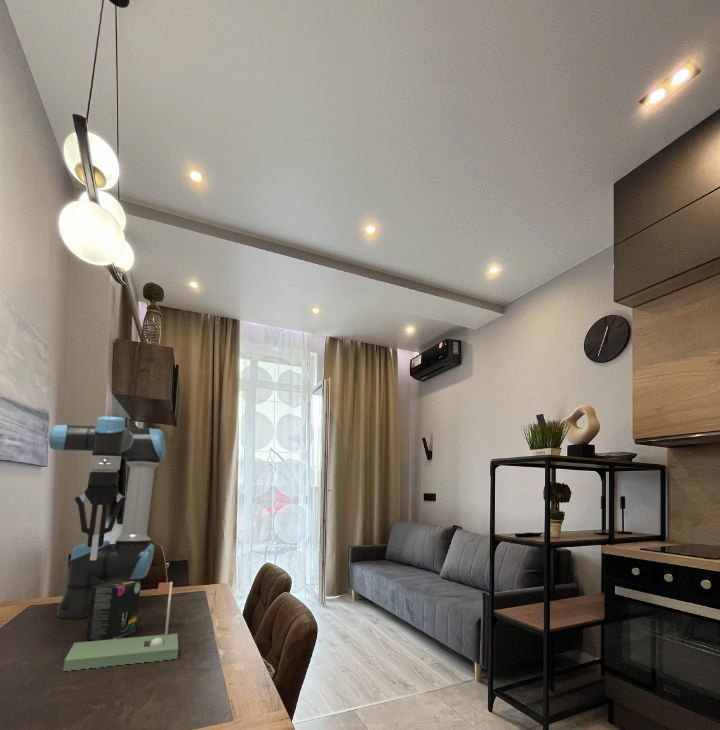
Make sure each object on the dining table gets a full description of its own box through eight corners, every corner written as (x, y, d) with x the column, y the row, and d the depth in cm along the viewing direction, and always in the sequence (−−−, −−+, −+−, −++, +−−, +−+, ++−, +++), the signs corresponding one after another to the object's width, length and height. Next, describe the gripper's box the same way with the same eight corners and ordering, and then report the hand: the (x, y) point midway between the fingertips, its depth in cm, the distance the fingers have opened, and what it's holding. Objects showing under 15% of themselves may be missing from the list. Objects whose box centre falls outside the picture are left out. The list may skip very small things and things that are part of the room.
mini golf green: (72, 653, 129) (82, 586, 133) (176, 643, 139) (182, 581, 142) (62, 672, 117) (73, 597, 121) (177, 659, 126) (183, 591, 130)
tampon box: (112, 643, 138) (118, 587, 141) (84, 640, 140) (91, 585, 143) (136, 631, 148) (142, 580, 152) (110, 629, 150) (116, 578, 154)
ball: (159, 633, 133) (166, 643, 133) (147, 642, 131) (154, 653, 132) (158, 636, 130) (166, 647, 130) (146, 646, 128) (154, 657, 128)
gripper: (76, 471, 132) (63, 563, 127) (129, 471, 137) (119, 560, 132) (80, 470, 139) (68, 558, 133) (130, 471, 144) (120, 556, 138)
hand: (93, 559), depth 133 cm, fingers closed
